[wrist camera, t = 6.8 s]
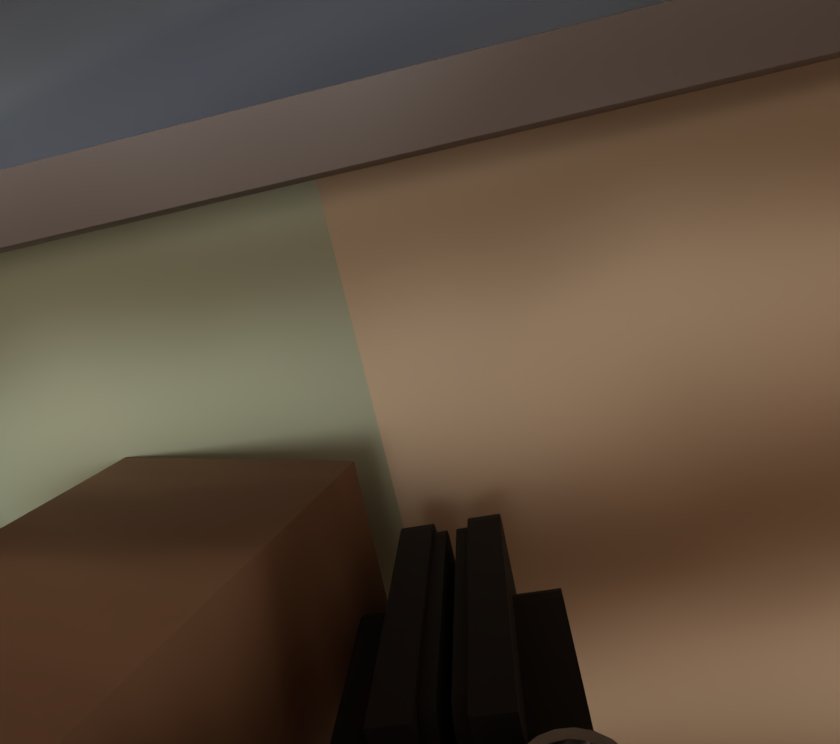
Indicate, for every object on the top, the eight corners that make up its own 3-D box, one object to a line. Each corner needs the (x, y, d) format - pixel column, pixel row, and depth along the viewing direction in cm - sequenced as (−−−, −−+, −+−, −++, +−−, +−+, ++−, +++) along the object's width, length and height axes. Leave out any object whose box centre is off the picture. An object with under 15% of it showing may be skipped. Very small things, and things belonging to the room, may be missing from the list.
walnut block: (125, 457, 12) (-336, 719, 6) (353, 461, 9) (-68, 861, 4) (201, 670, 13) (-127, 1025, 8) (415, 717, 11) (157, 1248, 6)
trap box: (-55, 223, 14) (-296, 244, 9) (1478, -150, 10) (2255, -401, 6) (179, 772, 18) (89, 957, 14) (1291, 658, 14) (1642, 864, 10)
